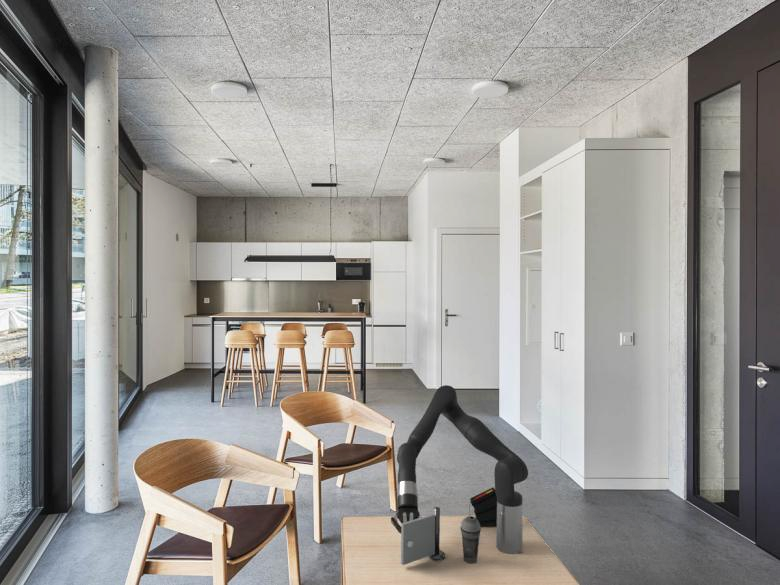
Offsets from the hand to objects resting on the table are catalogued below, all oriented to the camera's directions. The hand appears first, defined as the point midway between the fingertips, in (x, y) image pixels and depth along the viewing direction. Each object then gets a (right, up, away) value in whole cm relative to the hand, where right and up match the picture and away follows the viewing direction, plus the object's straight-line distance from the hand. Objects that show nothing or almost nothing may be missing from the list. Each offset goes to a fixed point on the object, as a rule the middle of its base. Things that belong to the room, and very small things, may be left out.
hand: (408, 545), depth 196 cm
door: (+4, -5, 0) cm, 6 cm away
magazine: (+33, -6, +31) cm, 46 cm away
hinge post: (+10, -6, +6) cm, 13 cm away
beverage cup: (+22, -7, +3) cm, 23 cm away
